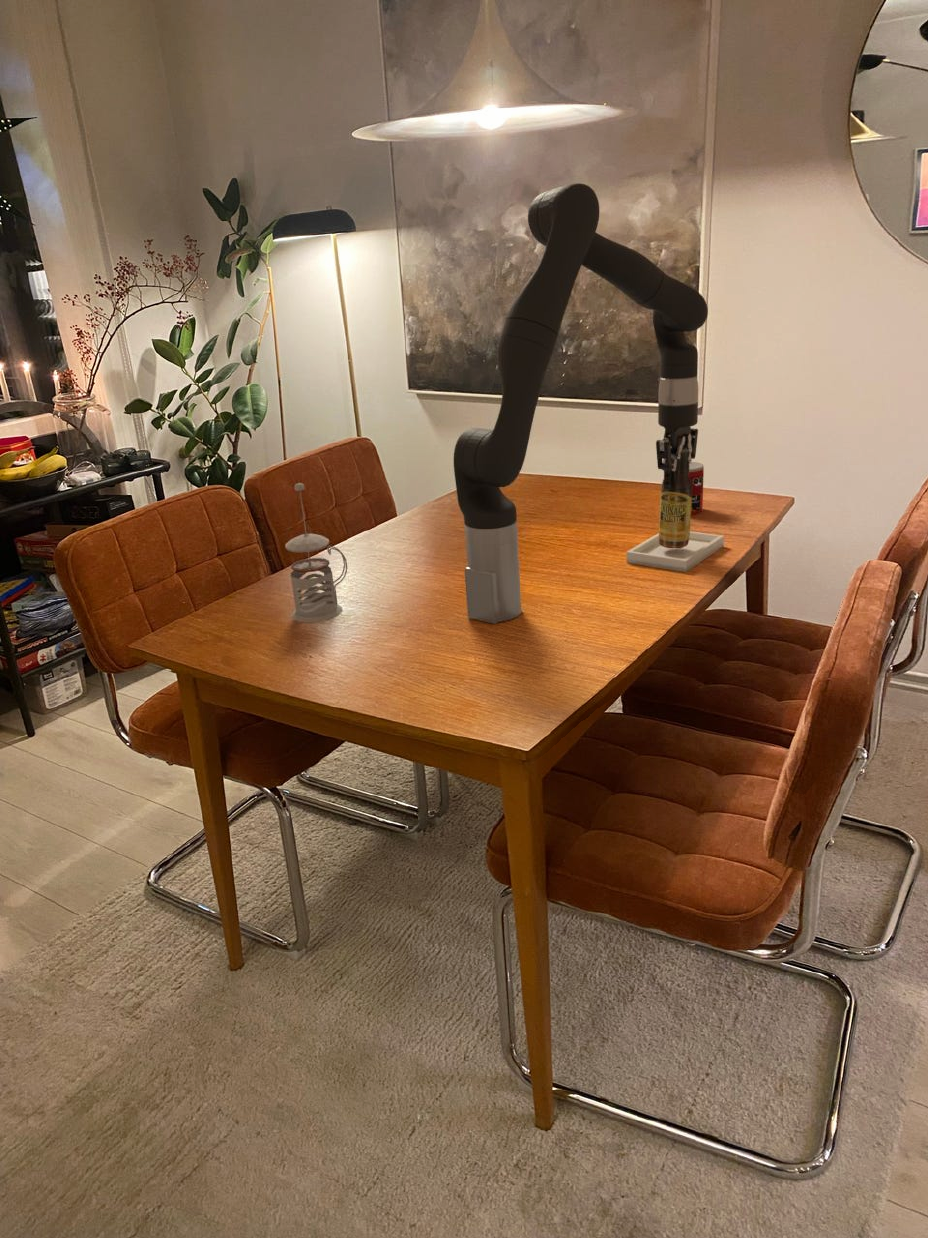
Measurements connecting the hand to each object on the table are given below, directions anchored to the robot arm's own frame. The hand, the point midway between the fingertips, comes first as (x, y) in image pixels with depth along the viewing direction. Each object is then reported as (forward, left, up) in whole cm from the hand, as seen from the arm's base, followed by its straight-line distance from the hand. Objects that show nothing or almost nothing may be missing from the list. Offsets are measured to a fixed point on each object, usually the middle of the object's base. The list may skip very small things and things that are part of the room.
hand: (676, 485), depth 186 cm
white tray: (0, 0, -15) cm, 15 cm away
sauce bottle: (0, 0, -13) cm, 13 cm away
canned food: (+30, +12, -15) cm, 36 cm away
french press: (-59, +44, -15) cm, 75 cm away
